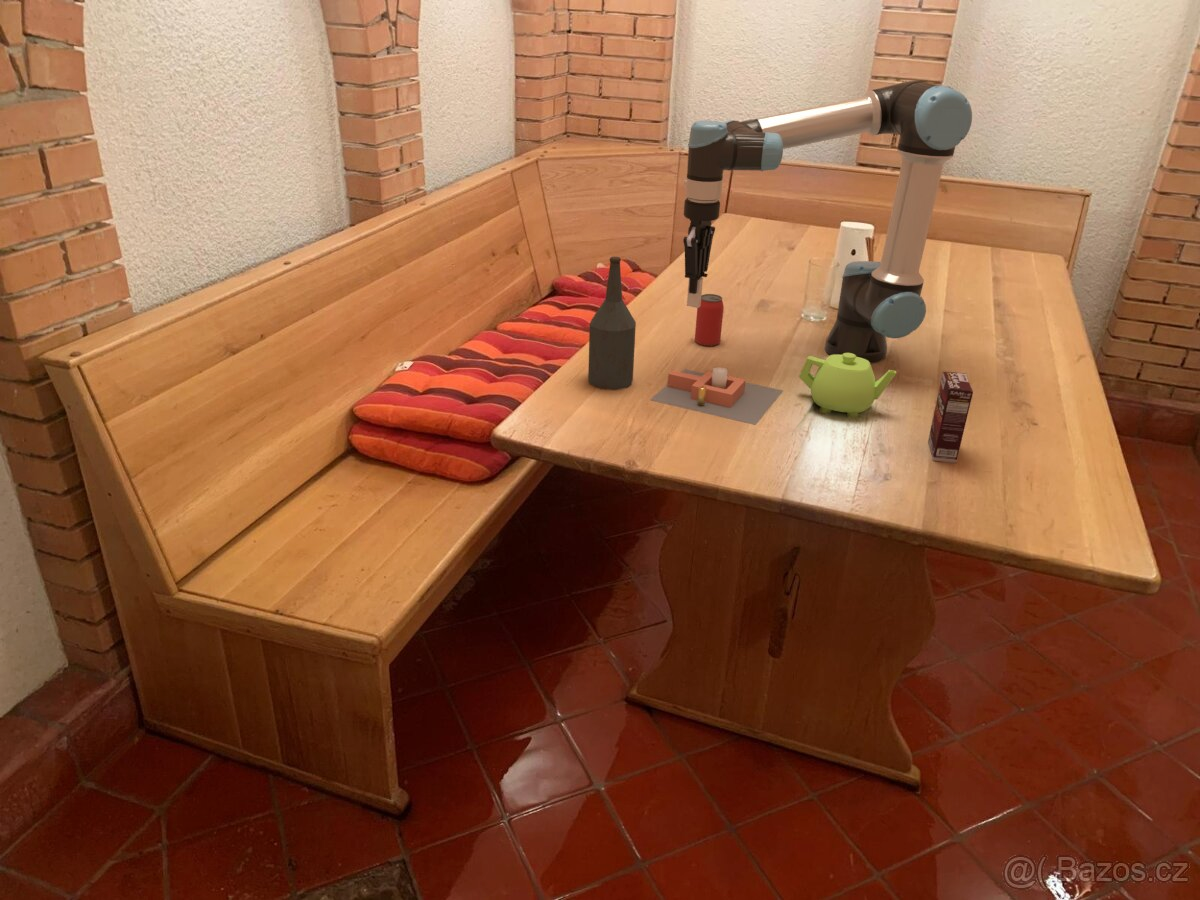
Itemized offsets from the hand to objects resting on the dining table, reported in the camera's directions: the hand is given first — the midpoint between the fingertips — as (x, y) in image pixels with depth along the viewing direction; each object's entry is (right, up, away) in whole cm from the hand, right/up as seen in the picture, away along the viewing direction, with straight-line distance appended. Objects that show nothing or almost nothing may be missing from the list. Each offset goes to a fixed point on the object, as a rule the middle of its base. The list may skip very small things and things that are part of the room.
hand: (693, 305), depth 203 cm
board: (+5, -21, -1) cm, 22 cm away
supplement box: (+48, -33, -20) cm, 61 cm away
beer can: (+7, -5, +31) cm, 32 cm away
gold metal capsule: (+1, -22, -7) cm, 23 cm away
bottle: (-19, -18, +4) cm, 26 cm away
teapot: (+32, -23, -2) cm, 40 cm away
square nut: (+2, -19, -1) cm, 19 cm away
